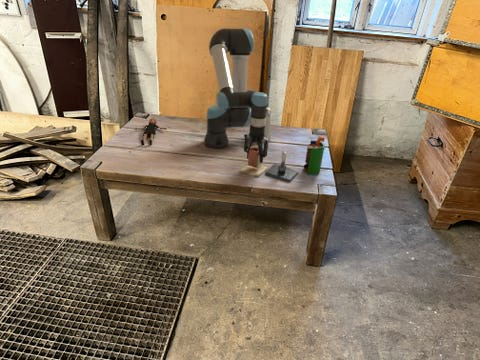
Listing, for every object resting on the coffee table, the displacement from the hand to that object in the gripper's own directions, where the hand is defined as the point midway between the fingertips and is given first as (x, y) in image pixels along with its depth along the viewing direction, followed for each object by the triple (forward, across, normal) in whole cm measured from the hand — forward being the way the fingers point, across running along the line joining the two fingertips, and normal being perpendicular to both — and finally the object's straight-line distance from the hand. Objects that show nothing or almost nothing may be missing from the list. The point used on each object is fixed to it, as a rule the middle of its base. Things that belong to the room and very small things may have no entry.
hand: (254, 165), depth 171 cm
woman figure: (+3, -77, +3) cm, 77 cm away
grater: (+3, -16, +41) cm, 44 cm away
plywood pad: (+3, 0, 0) cm, 3 cm away
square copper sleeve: (-1, 0, 0) cm, 1 cm away
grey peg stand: (+3, +14, +5) cm, 15 cm away
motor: (+3, +26, +18) cm, 32 cm away
